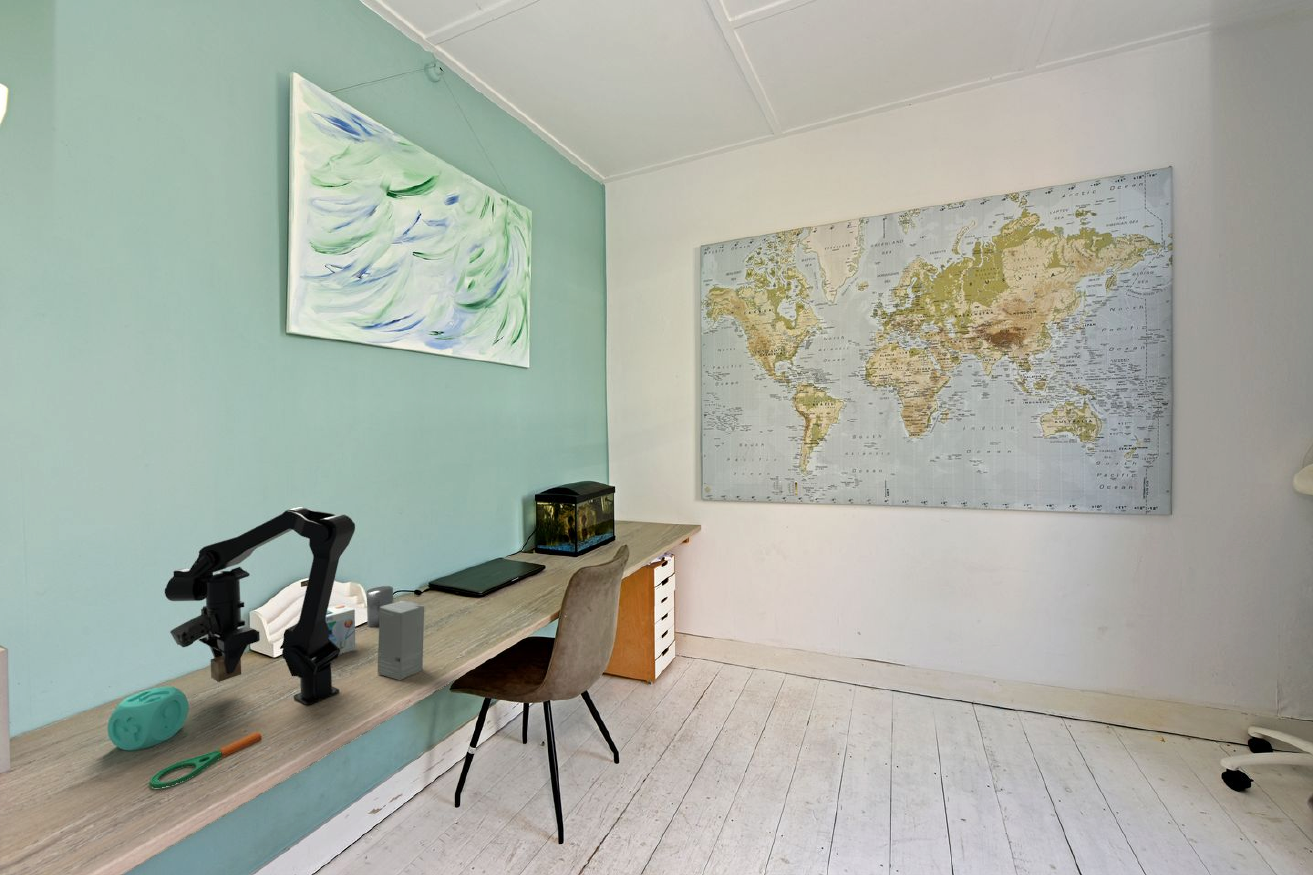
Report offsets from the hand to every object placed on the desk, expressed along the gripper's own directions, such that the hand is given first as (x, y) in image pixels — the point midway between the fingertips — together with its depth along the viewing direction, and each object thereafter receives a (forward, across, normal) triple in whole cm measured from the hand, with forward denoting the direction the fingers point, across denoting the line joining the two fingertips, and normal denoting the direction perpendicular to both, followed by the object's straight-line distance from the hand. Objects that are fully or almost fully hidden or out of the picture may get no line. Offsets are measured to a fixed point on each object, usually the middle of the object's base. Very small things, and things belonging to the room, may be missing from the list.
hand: (226, 671), depth 114 cm
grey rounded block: (+6, -13, +42) cm, 44 cm away
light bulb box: (+6, -4, +23) cm, 24 cm away
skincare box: (+6, +23, +26) cm, 35 cm away
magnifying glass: (+6, +25, -11) cm, 28 cm away
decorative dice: (+6, +6, -14) cm, 16 cm away
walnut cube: (+1, 0, 0) cm, 1 cm away
